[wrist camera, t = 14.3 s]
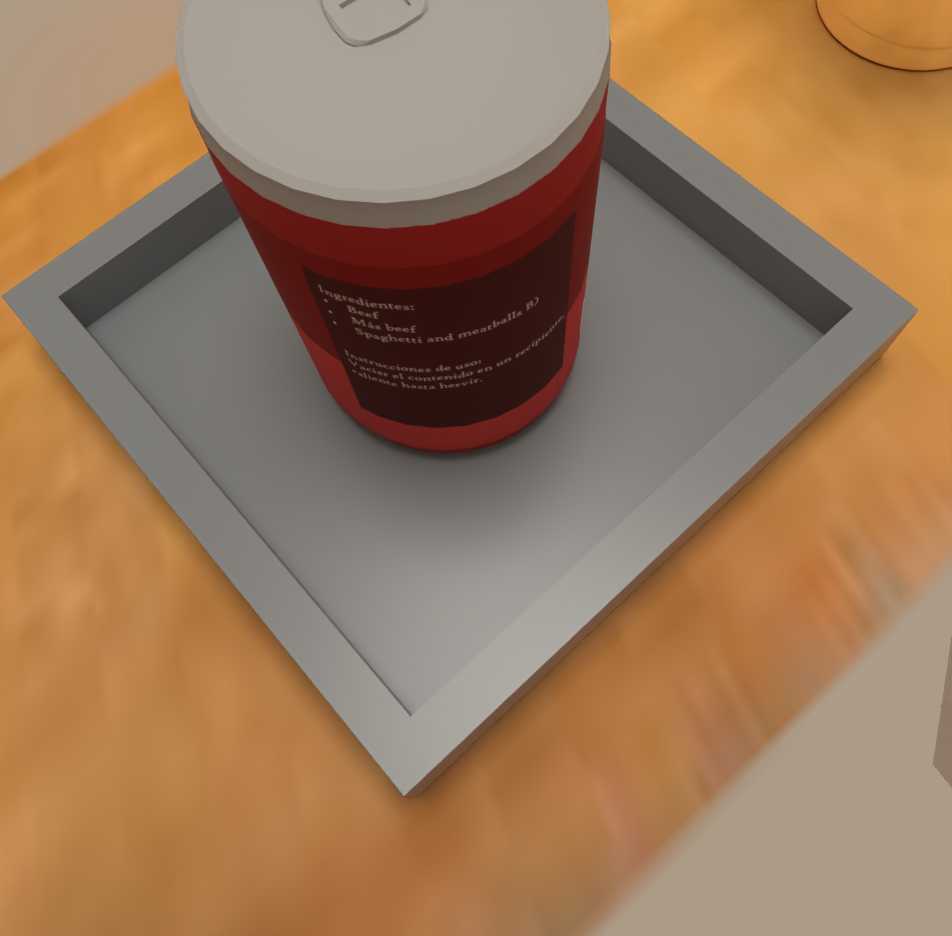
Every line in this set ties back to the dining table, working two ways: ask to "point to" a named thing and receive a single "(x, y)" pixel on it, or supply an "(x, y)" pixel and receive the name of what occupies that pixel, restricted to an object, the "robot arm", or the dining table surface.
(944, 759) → the robot arm
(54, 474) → the dining table surface
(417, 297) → the canned food
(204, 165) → the tray
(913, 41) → the glass
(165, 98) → the dining table surface
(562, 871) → the dining table surface
